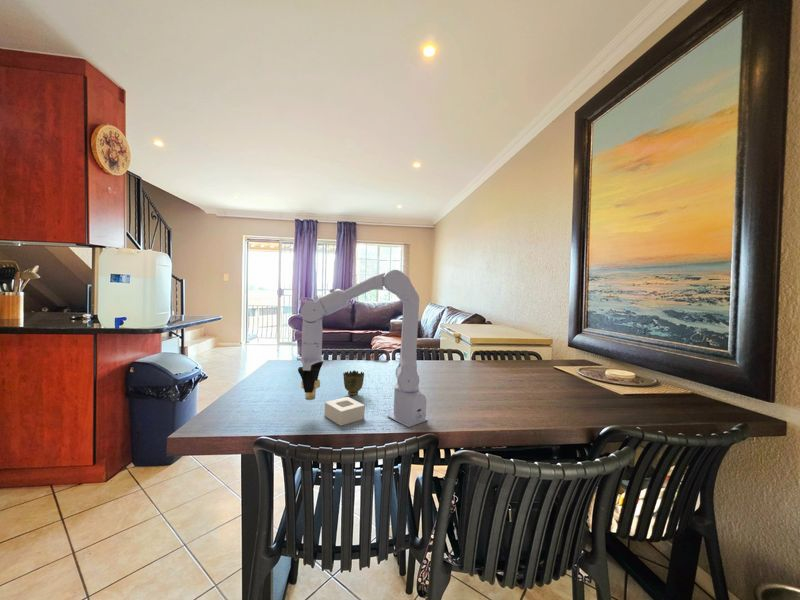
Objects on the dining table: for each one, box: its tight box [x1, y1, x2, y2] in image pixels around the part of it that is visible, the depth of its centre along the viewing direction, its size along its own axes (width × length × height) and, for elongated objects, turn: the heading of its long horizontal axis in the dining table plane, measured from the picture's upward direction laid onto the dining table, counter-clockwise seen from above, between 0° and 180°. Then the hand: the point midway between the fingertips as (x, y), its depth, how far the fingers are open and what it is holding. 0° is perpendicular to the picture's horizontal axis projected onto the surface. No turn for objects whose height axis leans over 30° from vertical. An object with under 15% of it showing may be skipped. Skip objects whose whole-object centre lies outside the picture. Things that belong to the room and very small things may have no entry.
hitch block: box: [323, 396, 366, 427], centre depth 92 cm, size 9×8×4 cm
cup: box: [342, 369, 365, 397], centre depth 112 cm, size 8×7×8 cm
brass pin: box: [300, 378, 321, 401], centre depth 91 cm, size 5×5×5 cm
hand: (310, 389), depth 91 cm, fingers closed on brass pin, 5 cm apart
